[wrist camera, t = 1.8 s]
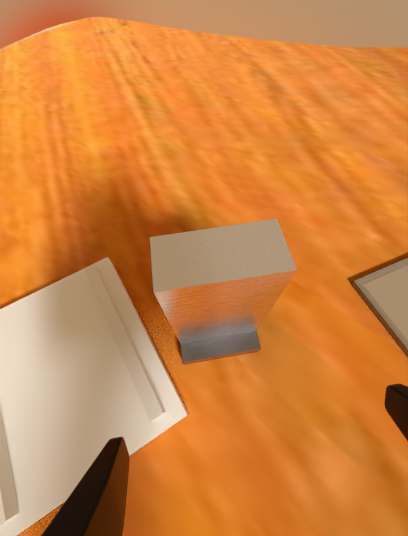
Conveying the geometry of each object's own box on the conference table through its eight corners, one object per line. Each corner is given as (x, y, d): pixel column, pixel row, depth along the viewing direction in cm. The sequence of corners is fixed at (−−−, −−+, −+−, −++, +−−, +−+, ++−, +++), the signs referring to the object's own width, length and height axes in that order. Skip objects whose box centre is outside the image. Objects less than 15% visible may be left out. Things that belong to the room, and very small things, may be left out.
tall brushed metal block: (257, 351, 21) (309, 300, 10) (184, 364, 21) (155, 326, 10) (241, 289, 24) (268, 197, 13) (176, 299, 24) (148, 213, 13)
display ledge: (188, 413, 19) (185, 415, 17) (3, 545, 16) (-34, 570, 14) (113, 263, 26) (103, 250, 23) (-30, 334, 22) (-58, 327, 20)
